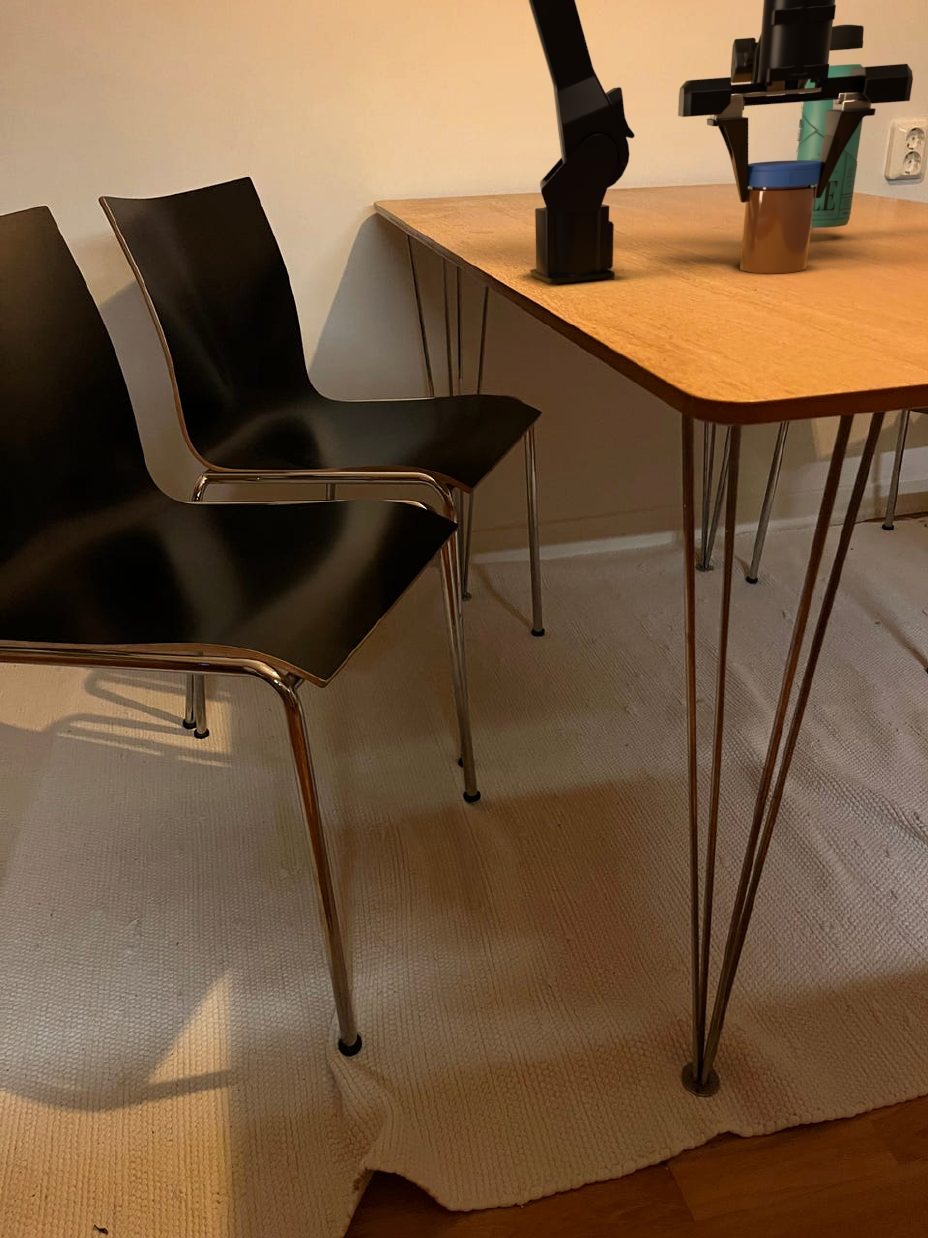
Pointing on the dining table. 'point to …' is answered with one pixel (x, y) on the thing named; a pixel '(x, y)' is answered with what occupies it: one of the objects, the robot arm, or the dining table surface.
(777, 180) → the jar lid
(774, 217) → the jar
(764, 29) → the robot arm
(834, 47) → the beverage bottle
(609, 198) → the dining table surface
